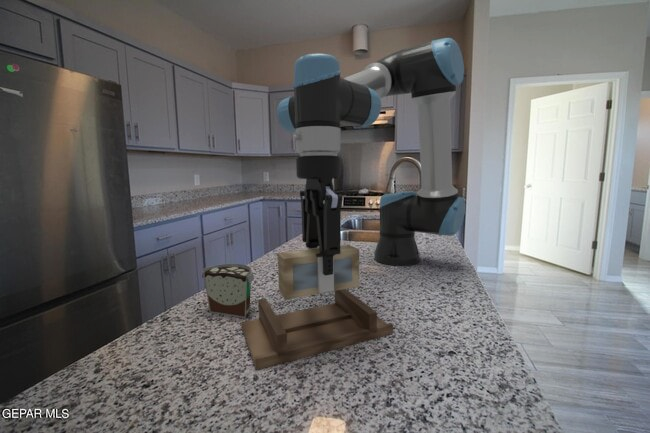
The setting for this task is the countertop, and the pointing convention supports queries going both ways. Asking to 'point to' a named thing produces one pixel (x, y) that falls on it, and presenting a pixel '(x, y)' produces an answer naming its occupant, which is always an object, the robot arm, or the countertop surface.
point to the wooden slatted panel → (311, 329)
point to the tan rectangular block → (315, 271)
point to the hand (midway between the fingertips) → (320, 286)
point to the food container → (228, 289)
